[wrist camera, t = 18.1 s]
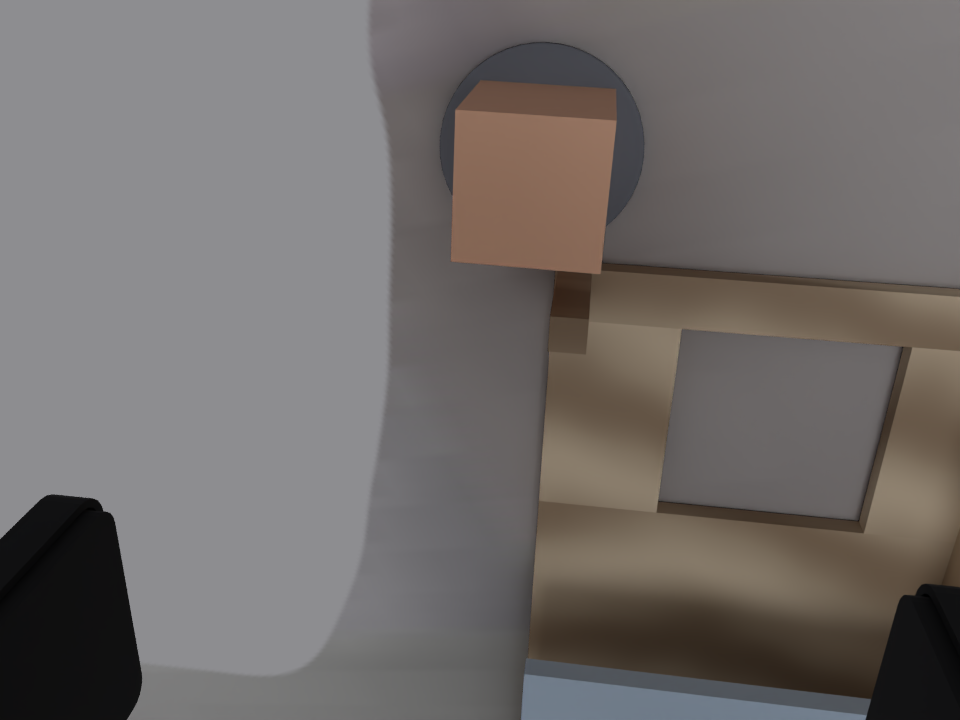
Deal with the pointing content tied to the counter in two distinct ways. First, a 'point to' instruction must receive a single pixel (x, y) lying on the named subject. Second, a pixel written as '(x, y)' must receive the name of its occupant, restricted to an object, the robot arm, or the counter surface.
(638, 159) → the coaster
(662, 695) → the lid
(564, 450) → the board
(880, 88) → the counter surface
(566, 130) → the block
